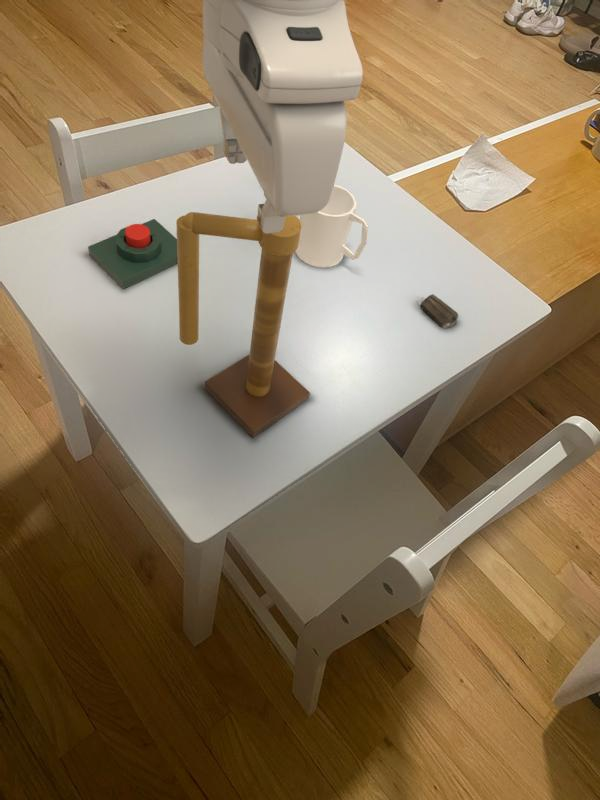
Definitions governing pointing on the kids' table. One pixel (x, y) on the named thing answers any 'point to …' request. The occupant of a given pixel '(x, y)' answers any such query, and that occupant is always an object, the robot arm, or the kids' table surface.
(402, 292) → the kids' table surface
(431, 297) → the block
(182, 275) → the bent wooden pipe
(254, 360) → the paper towel holder
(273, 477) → the kids' table surface
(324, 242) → the cup
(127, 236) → the red button
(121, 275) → the button block
